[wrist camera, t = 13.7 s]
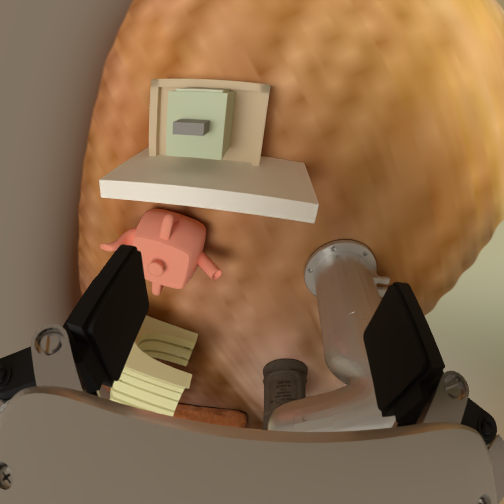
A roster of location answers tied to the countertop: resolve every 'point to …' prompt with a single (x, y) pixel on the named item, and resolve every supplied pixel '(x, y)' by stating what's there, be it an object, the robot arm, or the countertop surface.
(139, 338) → the slatted curved stool
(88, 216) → the countertop surface
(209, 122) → the cabinet box
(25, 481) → the robot arm
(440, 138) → the countertop surface
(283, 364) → the beer stein
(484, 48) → the countertop surface
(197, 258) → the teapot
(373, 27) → the countertop surface
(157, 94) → the beige slab with panel
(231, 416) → the bread
